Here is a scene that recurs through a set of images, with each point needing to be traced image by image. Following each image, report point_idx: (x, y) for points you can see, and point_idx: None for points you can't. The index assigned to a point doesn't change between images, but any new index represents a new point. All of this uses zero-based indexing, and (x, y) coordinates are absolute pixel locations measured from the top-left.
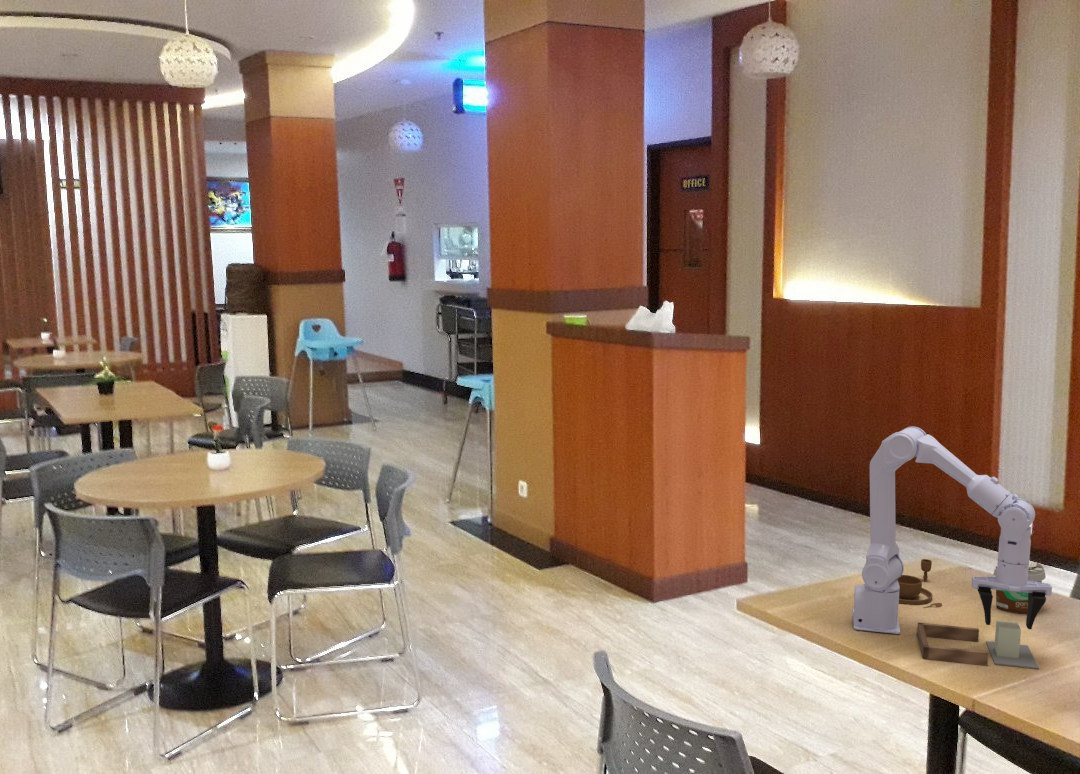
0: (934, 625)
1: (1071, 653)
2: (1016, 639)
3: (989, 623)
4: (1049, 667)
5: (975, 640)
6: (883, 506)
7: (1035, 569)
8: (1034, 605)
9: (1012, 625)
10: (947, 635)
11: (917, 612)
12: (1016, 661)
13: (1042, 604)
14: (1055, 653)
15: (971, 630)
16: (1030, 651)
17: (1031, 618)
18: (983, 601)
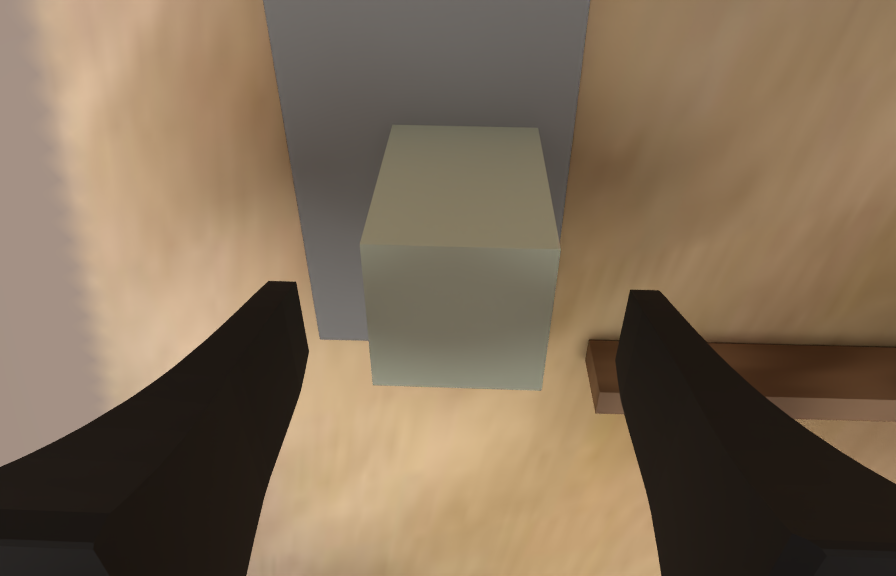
0: (875, 402)
1: (90, 302)
2: (403, 194)
3: (644, 295)
4: (189, 34)
5: (605, 343)
6: None
7: None
8: (142, 451)
9: (424, 321)
10: (770, 356)
11: None
12: (416, 55)
13: (15, 465)
14: (172, 282)
15: None
16: (308, 259)
17: (237, 340)
18: (852, 466)
